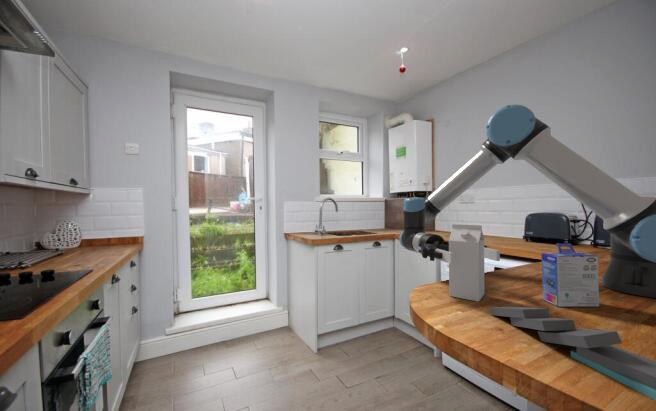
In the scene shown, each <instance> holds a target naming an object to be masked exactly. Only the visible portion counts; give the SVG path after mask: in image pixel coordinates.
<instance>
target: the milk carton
mask: <svg viewBox="0 0 656 411" xmlns="http://www.w3.org/2000/svg"><path fill="white" fill-rule="evenodd" d="M451 227H452V228H451V232H450V234H449V239H448V242H449V252H452V253H453V264H450V263H448V290H449V292H448V295H449V296H450V297H453V298H458V299H463V300H469V301H473V302H478V303H479V302H481V299H482V298H484V295H485V258H484V246H485V238H484V233H483V229H482V228H483V226H482V225H481V224H480V225H479V224H475V225H474V224H456V223H454V224H452V226H451Z"/></svg>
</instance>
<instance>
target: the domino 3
mask: <svg viewBox="0 0 656 411" xmlns="http://www.w3.org/2000/svg"><path fill="white" fill-rule="evenodd" d="M575 328H576V330H564V331H542V330H537V334H538V336H539V339H540V342H543V343H551V344H556V345H557V344H558V345H563V346H570V347H576V348H577V347H582V348H595V347H602V346H608V345H613V346H615V345H621V344H623V340H621V337H620V335H619V333H618V331H617V330H605V329H604V330H603V329H593V328H592V329H591V328H579V327H578V328H577V327H575Z"/></svg>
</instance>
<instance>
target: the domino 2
mask: <svg viewBox="0 0 656 411" xmlns="http://www.w3.org/2000/svg"><path fill="white" fill-rule="evenodd" d="M509 320H510V322H511V324H510V325H511V326H513V327H518V328H519V327H520V328H526V329H532V330H537V331H564V330H576V328H577V327H576V325H575V322H574V319H567V318H559V317H558V318H557V317H550V318H528V319H524V318H514V317H509Z"/></svg>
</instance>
